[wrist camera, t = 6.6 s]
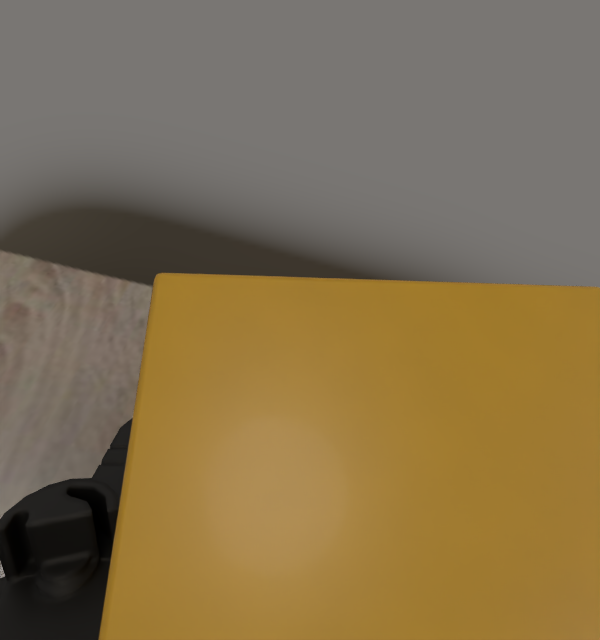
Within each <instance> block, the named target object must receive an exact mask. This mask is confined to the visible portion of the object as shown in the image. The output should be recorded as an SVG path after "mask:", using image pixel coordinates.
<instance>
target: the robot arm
mask: <svg viewBox="0 0 600 640" xmlns="http://www.w3.org/2000/svg"><path fill="white" fill-rule="evenodd" d="M132 419H133V418H132ZM132 419H131V420H129V421H128V422H127V423H126V424H124V425H123V426H122V427H121V428H120V429H119V431H118V433H117V435H116V436H115V438H114V440H113V442H112V443H111V445H110V449H108V450H107V452H106V454H105V456H104V457H103V459H102V463H101V465H99V466H98V468H97V470H96V471H95V473H94V475H93V477H92V478H83V479H69V480H65V481H62V482H58V483H54V484H51V485H48V486H46V487H44V488H42V489H40V490H38V491H36V492H34V493H32V494H30V495H28V496H26V497H25V498H23V499H22V500H21V501H19V502H18V503H17V504H16V505H14V506H13V507H12V508H10V509H9V510H8V511H7V512H5V514H4V515H3V516H2V518H1V519H0V561H1V564H2V567H3V570H4V573H5V577H3V578H0V640H98V638H99V632H100V625H101V619H102V612H103V606H104V600H105V593H106V587H107V580H108V574H109V567H110V561H111V554H112V548H113V542H114V535H115V529H116V522H117V516H118V509H119V503H120V496H121V490H122V484H123V477H124V471H125V464H126V458H127V451H128V445H129V438H130V432H131V426H132Z"/></svg>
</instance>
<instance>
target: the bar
mask: <svg viewBox="0 0 600 640" xmlns="http://www.w3.org/2000/svg"><path fill="white" fill-rule="evenodd" d="M98 640H600V288H599V287H584V286H554V285H553V286H552V285H522V284H492V283H461V282H430V281H399V280H367V279H338V278H305V277H273V276H245V275H212V274H183V273H159V274H157V275H156V277H155V279H154V284H153V290H152V297H151V303H150V310H149V316H148V322H147V329H146V335H145V342H144V348H143V355H142V361H141V368H140V374H139V380H138V387H137V393H136V400H135V406H134V413H133V419H132V426H131V432H130V438H129V445H128V451H127V458H126V464H125V471H124V477H123V484H122V490H121V496H120V503H119V509H118V516H117V522H116V529H115V535H114V542H113V548H112V554H111V561H110V567H109V574H108V580H107V587H106V593H105V600H104V606H103V612H102V619H101V625H100V632H99V638H98Z"/></svg>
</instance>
